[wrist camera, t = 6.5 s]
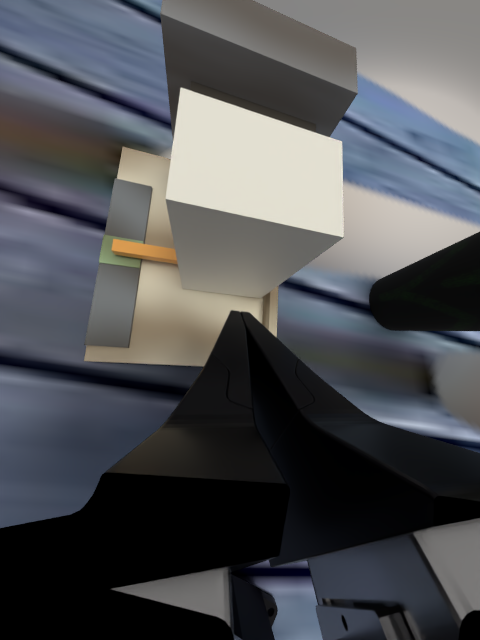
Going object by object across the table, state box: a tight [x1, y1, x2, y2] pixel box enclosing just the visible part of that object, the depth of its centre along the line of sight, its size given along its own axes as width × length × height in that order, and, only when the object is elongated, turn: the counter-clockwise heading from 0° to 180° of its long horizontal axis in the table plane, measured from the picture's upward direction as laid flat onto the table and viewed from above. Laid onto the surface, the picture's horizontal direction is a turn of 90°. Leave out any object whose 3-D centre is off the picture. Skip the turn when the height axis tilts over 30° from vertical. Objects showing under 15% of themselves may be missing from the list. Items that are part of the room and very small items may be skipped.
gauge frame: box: [84, 0, 358, 366], centre depth 11 cm, size 16×12×10 cm
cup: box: [369, 232, 480, 331], centre depth 14 cm, size 8×8×12 cm
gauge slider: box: [112, 88, 344, 298], centre depth 11 cm, size 4×10×9 cm, turn 87°
